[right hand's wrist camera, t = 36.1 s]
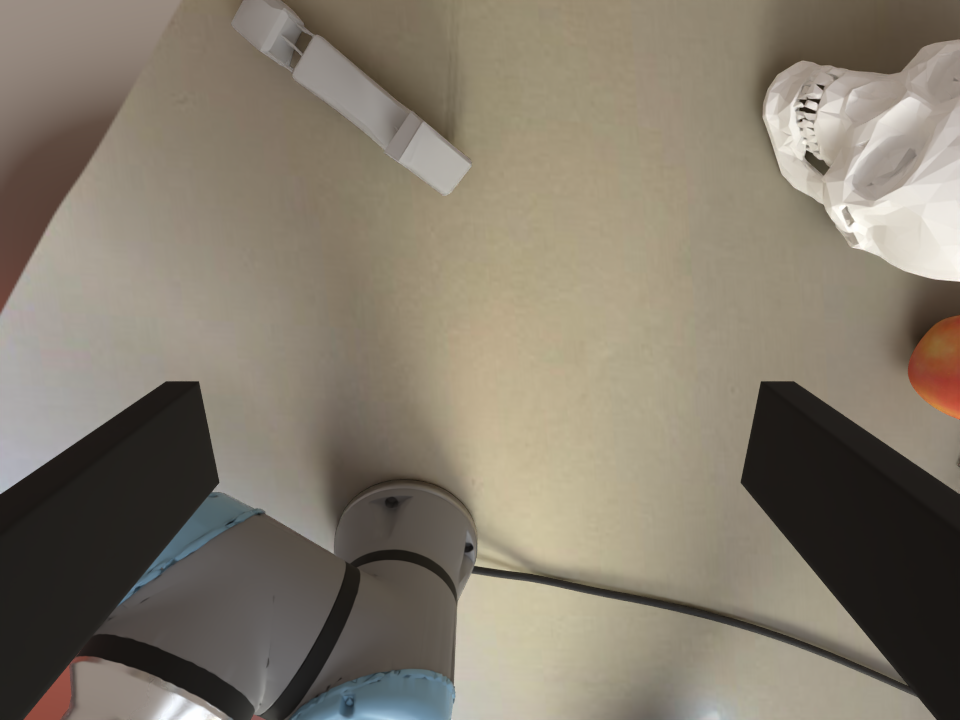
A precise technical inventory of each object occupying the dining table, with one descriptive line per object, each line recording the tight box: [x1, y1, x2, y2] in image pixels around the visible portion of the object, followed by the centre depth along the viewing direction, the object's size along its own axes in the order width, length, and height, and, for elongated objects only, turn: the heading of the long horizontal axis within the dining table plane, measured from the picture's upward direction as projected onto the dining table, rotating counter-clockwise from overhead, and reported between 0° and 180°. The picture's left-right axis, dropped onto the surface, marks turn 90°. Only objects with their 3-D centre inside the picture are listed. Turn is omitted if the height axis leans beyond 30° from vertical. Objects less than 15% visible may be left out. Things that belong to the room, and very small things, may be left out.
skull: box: [763, 39, 960, 281], centre depth 36 cm, size 13×22×16 cm, turn 64°
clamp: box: [231, 0, 472, 196], centre depth 39 cm, size 20×4×7 cm, turn 52°
